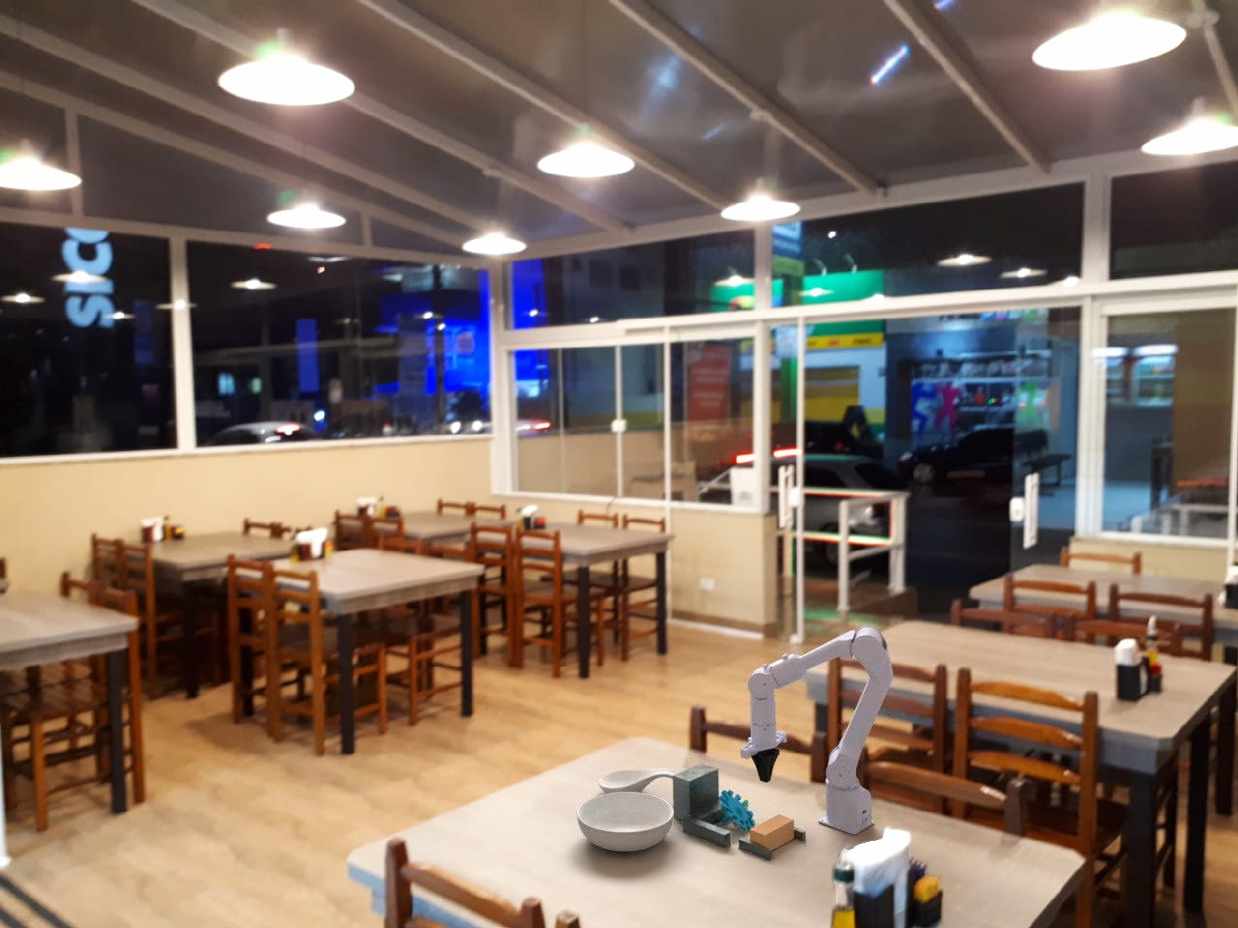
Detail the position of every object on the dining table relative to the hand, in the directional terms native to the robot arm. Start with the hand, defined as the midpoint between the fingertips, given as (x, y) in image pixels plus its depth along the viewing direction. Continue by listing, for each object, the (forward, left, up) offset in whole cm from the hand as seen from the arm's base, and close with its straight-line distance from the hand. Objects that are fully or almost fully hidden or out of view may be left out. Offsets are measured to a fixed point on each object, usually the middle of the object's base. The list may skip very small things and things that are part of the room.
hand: (765, 780), depth 216 cm
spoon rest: (+28, +11, -8) cm, 31 cm away
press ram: (-10, +11, -8) cm, 17 cm away
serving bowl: (+14, +31, -8) cm, 35 cm away
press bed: (0, +12, -8) cm, 14 cm away
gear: (+1, +9, -8) cm, 12 cm away
